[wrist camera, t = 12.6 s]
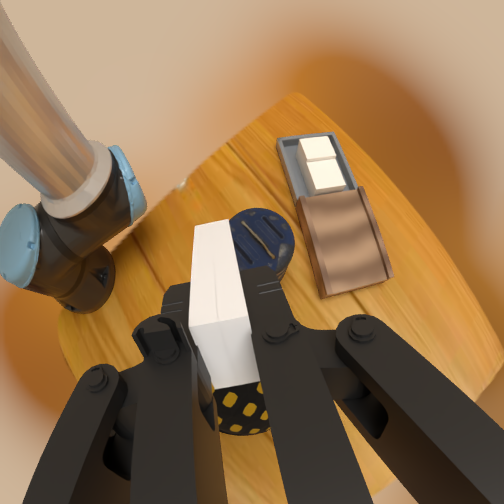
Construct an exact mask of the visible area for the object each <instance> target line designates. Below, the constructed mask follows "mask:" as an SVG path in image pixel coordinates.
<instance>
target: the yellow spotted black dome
mask: <svg viewBox="0 0 504 504" xmlns="http://www.w3.org/2000/svg"><path fill="white" fill-rule="evenodd" d="M211 385H212V394H213V396H214V398H215V401H216V404H217V415H218V425H219V432H223V433H226V434H230V435H237V436H248V435H254V434H259V433H264V432H266V431H268V430H270V429H271V428H270V423H269V419H268V414H267V410H266V405H265V401H264V396H263V391H262V387H261V382H260V381H257V382H252V383H247V384H242V385H237V386H231V387H226V388H220V389H214V386H213V384H212V382H211Z"/></svg>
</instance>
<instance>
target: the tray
mask: <svg viewBox="0 0 504 504" xmlns="http://www.w3.org/2000/svg"><path fill="white" fill-rule="evenodd" d="M322 136H328V138H329V140H330V142H331V145H332V147H333V149H334V151H335V154H336V158H335V159H336V162H337V164H338V166H339V169H340V171H341V174H342V176H343V179H344V181H345V184H346V186H345V188H344V189H343V191H349V190H356V189H357V188H358V186H357V183H356V181H355V178H354V176H353V173H352V171H351V169H350V166H349V164H348V162H347V159H346V157H345V155H344V153H343V150H342V148H341V146H340V144H339V142H338V139H337V137H336V135H335V133H334V132H326V133H316V134H307V135H298V136H290V137H282V138H277V143H276V148H277V151H278V154H279V157H280V160H281V163H282V166H283V169H284V172H285V176H286V179H287V182H288V185H289V188H290V192H291V195H292V198H293V201H294V205H295V207H296V205H297V202H298V198H299V196H303V195H304V196H305V198H306V197H310V196H309V193H308V190H307V187H306V184H305V181H304V178H303V176H302V173H301V170H300V167H299V164H298V161H297V159H296V153H297V148H298V143H299V139H304V138H313V137H322Z"/></svg>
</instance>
